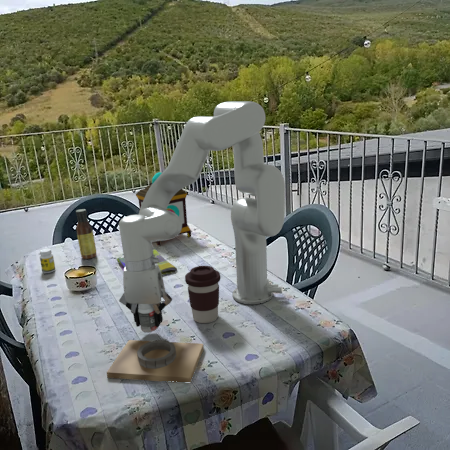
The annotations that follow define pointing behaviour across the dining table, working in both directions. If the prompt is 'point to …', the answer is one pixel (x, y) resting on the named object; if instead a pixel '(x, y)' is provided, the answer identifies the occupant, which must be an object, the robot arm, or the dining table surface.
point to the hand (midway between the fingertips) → (149, 323)
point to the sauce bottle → (85, 235)
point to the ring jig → (156, 361)
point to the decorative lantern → (170, 205)
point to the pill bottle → (147, 317)
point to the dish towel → (163, 264)
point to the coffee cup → (203, 293)
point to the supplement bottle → (47, 261)
